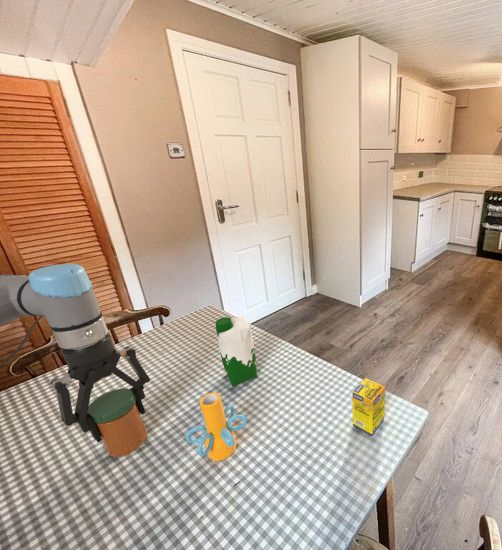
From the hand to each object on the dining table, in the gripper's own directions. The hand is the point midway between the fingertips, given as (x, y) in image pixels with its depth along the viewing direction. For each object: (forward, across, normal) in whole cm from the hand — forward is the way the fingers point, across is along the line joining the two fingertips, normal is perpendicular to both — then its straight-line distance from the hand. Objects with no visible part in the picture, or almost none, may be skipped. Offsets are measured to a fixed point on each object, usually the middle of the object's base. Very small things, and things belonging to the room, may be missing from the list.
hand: (120, 424), depth 69 cm
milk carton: (+6, +29, -4) cm, 30 cm away
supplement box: (+6, +34, -46) cm, 58 cm away
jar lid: (-6, 0, 0) cm, 6 cm away
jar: (+6, 0, 0) cm, 6 cm away
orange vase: (+6, +10, -21) cm, 24 cm away
